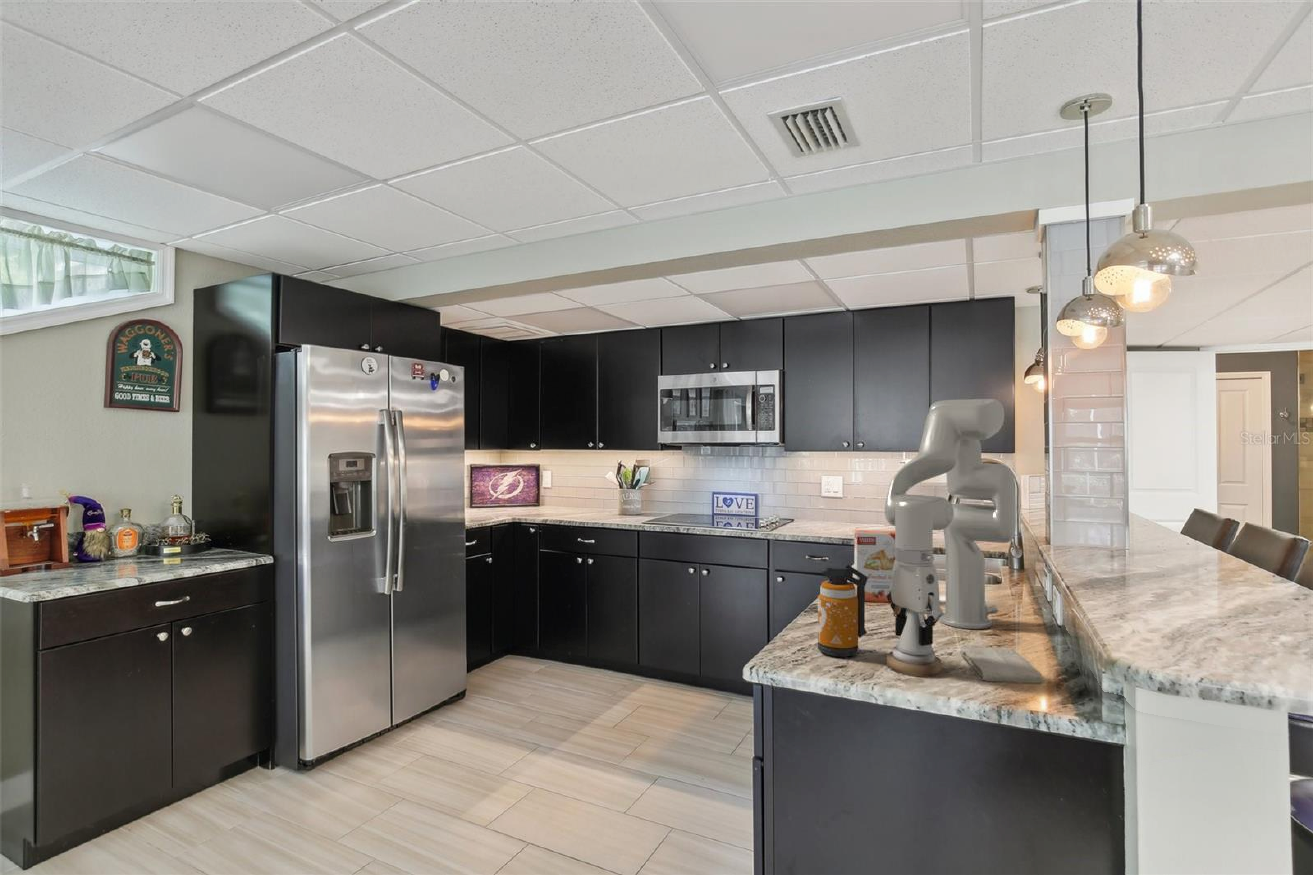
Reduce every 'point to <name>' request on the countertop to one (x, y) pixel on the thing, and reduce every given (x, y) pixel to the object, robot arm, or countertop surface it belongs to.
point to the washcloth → (999, 664)
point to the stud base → (914, 664)
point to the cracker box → (875, 562)
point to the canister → (841, 611)
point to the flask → (912, 637)
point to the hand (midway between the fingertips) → (913, 639)
